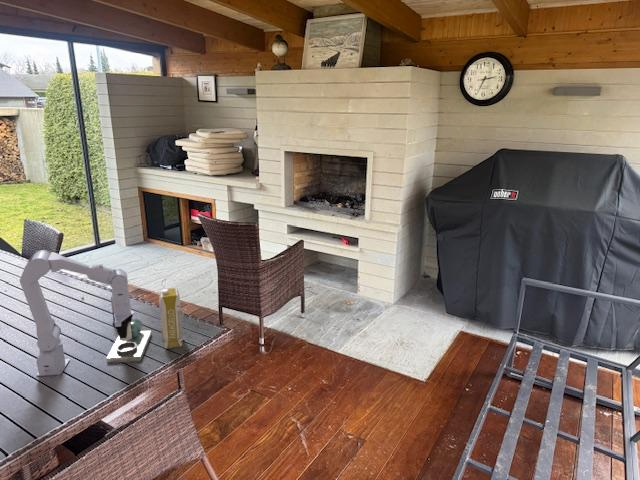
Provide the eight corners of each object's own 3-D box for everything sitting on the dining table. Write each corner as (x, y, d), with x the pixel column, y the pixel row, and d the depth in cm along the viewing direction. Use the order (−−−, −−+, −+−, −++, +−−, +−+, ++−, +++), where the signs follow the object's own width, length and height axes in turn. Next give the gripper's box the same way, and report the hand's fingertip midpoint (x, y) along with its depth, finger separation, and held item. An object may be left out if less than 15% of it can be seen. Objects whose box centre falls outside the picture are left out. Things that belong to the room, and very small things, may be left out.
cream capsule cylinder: (130, 340, 168) (128, 324, 165) (117, 341, 167) (115, 324, 165) (133, 334, 172) (131, 318, 170) (121, 335, 171) (119, 319, 169)
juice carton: (162, 338, 183) (157, 286, 176) (182, 335, 186) (178, 283, 179) (163, 350, 175) (158, 295, 168) (184, 347, 178) (180, 293, 170)
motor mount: (140, 361, 168) (138, 342, 165) (107, 362, 166) (104, 344, 163) (151, 334, 186) (149, 317, 184) (121, 336, 184) (119, 319, 182)
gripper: (127, 310, 158) (131, 343, 163) (137, 293, 172) (140, 324, 176) (106, 311, 157) (111, 344, 162) (118, 294, 171) (121, 325, 175)
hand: (125, 334), depth 169 cm, fingers closed on cream capsule cylinder, 4 cm apart
